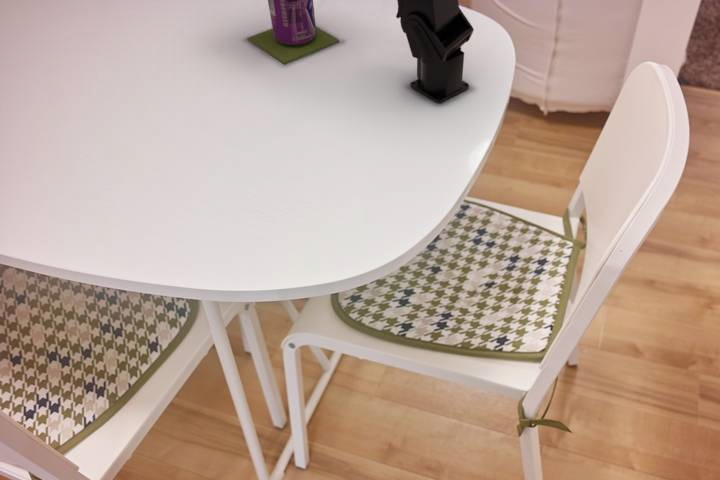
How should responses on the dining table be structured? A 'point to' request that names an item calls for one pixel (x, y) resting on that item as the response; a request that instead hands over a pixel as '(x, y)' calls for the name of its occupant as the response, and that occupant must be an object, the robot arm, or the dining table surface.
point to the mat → (291, 51)
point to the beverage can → (292, 21)
